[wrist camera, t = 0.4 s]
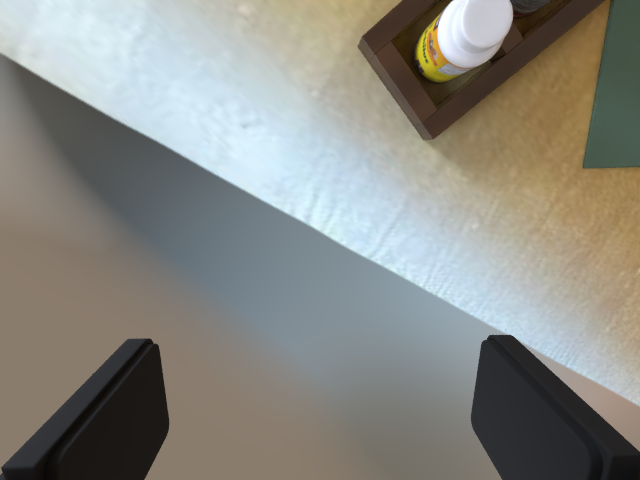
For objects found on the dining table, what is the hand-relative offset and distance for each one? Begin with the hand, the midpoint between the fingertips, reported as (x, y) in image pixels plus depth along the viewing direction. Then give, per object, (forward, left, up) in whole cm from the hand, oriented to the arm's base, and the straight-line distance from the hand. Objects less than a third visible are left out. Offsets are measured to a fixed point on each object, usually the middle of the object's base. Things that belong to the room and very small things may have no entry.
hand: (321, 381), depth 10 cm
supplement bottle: (-16, +13, -30) cm, 36 cm away
